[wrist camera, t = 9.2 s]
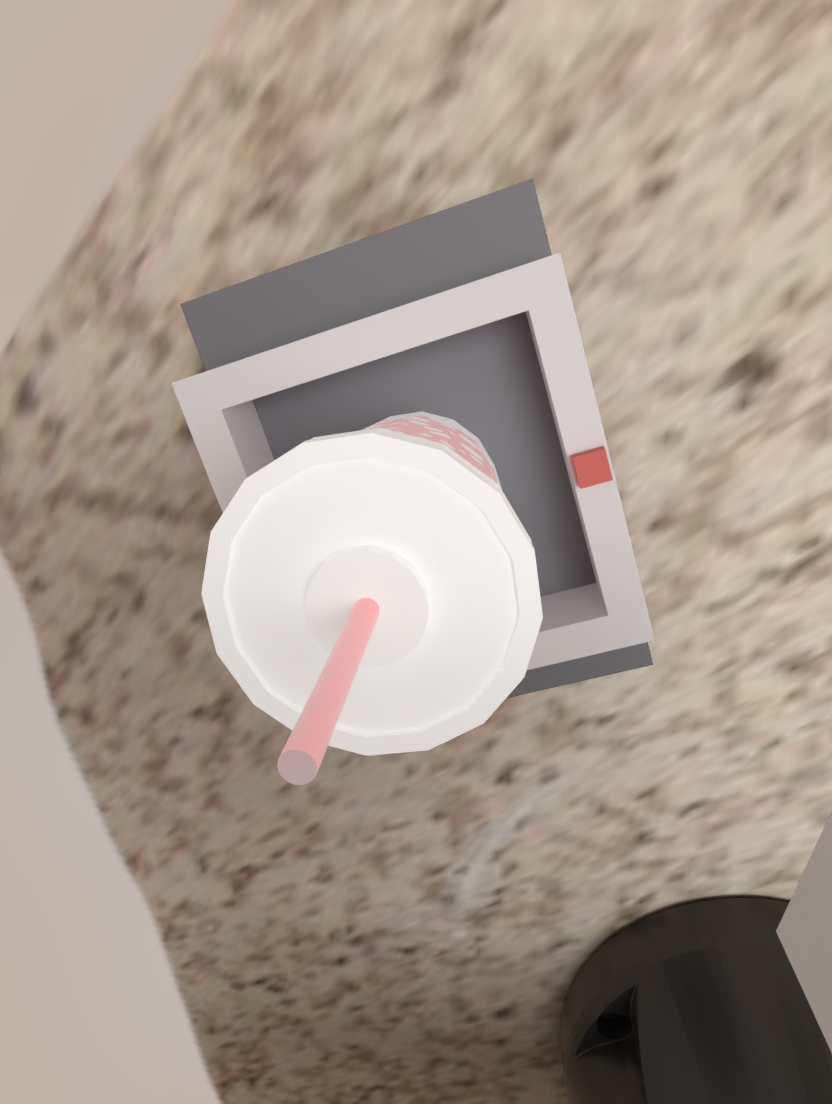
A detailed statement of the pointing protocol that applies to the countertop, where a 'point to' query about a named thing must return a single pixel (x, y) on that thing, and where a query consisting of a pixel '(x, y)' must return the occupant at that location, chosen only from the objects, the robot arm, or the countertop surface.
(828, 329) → the countertop surface
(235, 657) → the beverage cup
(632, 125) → the countertop surface
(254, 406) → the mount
